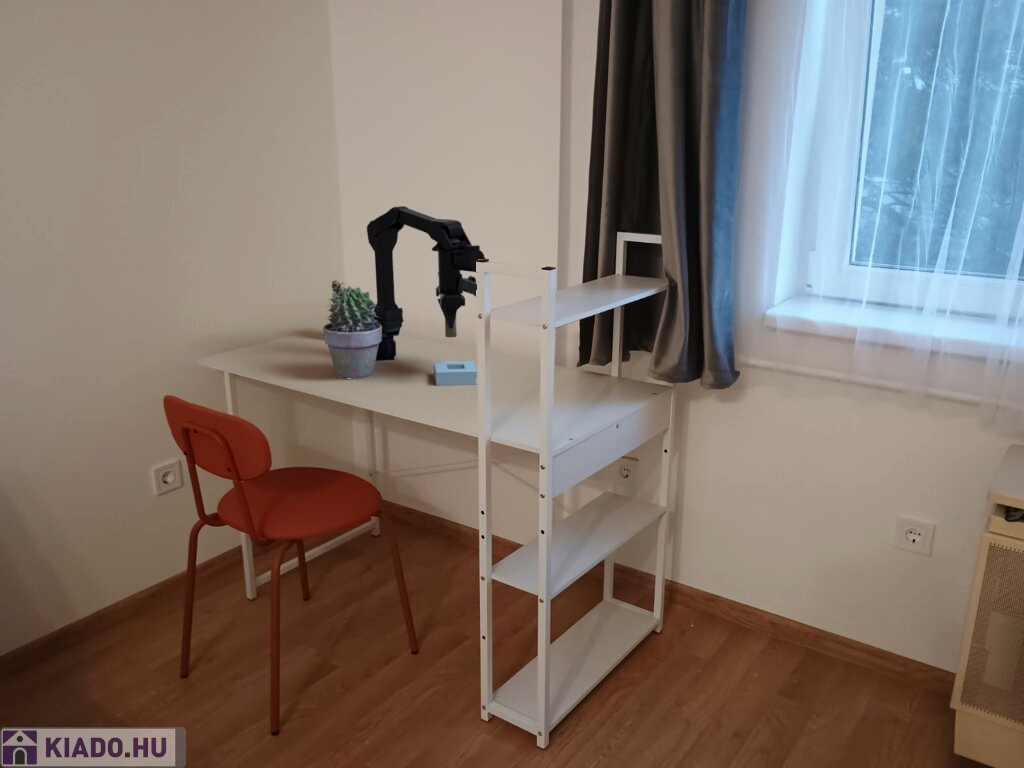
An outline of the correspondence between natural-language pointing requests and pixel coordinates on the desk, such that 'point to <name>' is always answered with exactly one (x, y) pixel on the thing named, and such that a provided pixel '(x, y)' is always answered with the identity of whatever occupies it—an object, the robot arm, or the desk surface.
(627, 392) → the desk surface
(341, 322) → the potted plant
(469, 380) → the socket block
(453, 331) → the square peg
